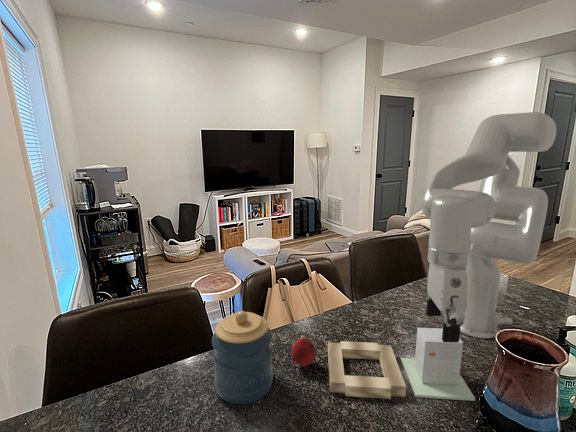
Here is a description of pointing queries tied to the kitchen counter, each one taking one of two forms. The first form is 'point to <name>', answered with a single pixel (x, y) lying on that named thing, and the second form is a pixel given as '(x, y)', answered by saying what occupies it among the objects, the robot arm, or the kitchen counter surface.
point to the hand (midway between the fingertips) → (441, 327)
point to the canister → (242, 358)
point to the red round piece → (303, 351)
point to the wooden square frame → (362, 384)
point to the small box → (437, 357)
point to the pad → (435, 385)
